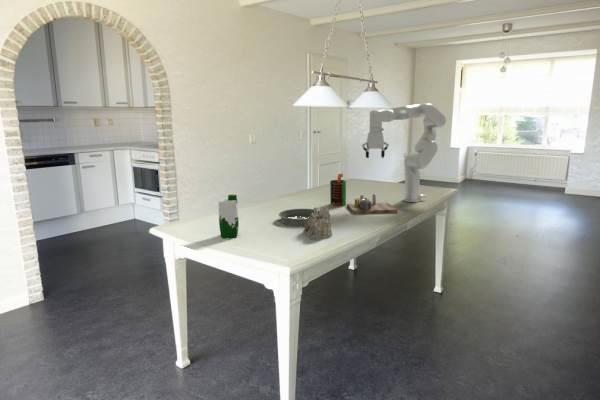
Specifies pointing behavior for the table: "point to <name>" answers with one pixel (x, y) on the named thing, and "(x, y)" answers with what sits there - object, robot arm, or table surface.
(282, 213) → the cake pan
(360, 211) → the board
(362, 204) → the steel gear
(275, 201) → the table surface
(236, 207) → the milk carton
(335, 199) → the motor
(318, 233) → the grey rough lump
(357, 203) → the brass gear
